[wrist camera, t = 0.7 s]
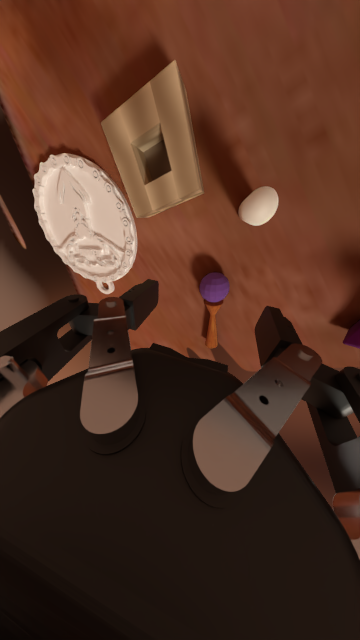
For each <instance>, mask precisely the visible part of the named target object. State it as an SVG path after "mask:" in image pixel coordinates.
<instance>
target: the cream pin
mask: <svg viewBox="0 0 360 640" xmlns="http://www.w3.org/2000/svg"><path fill="white" fill-rule="evenodd" d="M277 207H278V195H277V193H276V191H275V190H274V189H273V188H271V187H267V186H265V187H260V188H258V189H256V190H255V191H253V192H252V193H251V194H250V195H249V196H248V197H247V198H246V199H245V200H244V201H243V202H242V203H241V205H240V207H239V210H238V215H239V217H240V219H241V220H243V221H244V222H246V223H248V224H250V225H254V226H258V225H262V224H264V223H266V222H267V221H269V220H270V219H271V218H272V216H273V215H274V214H275V212H276V210H277Z"/></svg>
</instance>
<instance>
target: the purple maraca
mask: <svg viewBox="0 0 360 640" xmlns="http://www.w3.org/2000/svg"><path fill="white" fill-rule="evenodd" d="M228 292H229V282H228V279H227V278H226V277H225V276H224V275H223V274H221V273H217V272H213V273H209V274H207V275H206V276H205V277H204V278H203V279H202V281H201V283H200V293H201V295H202V297H203V298H204V303H205V305H206V307H207V309H208V310H209V312H210V320H209V325H208V331H207V337H206V342H205V345H206V346H207V347H208V348H215V347H216V346H217V330H216V317H215V314H216V312H217V311H218V309H219V308H220V307H221V305H222V304H223V299H224V298H225V297H226V295H227V294H228Z"/></svg>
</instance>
